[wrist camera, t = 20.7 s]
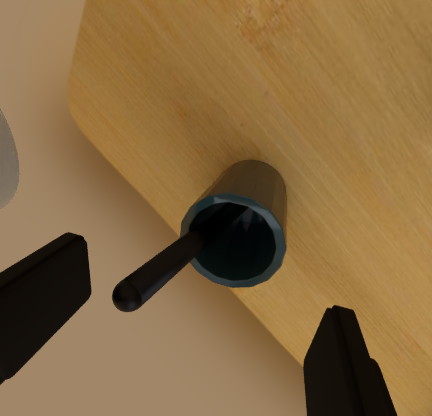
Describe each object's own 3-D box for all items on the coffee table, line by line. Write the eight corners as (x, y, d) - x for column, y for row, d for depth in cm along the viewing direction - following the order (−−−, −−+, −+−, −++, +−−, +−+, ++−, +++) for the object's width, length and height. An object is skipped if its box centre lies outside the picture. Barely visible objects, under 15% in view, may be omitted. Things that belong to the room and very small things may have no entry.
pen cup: (212, 216, 22) (176, 271, 15) (222, 153, 20) (184, 182, 12) (277, 232, 21) (271, 299, 14) (295, 167, 19) (299, 208, 11)
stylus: (240, 201, 20) (105, 309, 9) (243, 187, 20) (104, 284, 9) (254, 206, 20) (129, 325, 9) (257, 192, 19) (129, 300, 8)
